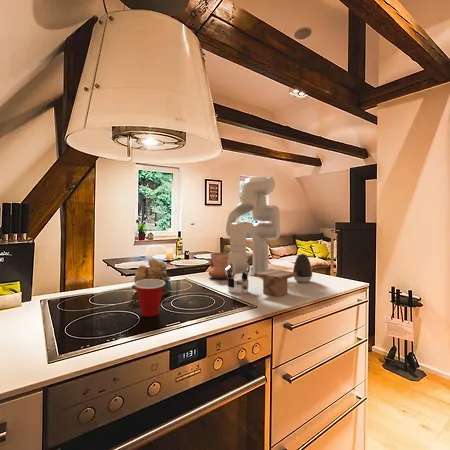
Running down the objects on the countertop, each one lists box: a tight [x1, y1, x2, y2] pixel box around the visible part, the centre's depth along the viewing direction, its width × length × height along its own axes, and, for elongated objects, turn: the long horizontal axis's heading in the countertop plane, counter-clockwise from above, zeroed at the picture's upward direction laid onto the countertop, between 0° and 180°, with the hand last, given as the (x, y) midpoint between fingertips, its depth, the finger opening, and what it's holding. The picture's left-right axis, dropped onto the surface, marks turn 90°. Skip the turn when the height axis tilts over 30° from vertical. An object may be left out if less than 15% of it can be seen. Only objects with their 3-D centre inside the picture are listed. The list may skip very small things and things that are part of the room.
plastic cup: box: [134, 279, 166, 318], centre depth 104 cm, size 11×11×12 cm
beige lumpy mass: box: [131, 258, 171, 301], centre depth 129 cm, size 18×12×17 cm, turn 130°
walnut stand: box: [253, 268, 297, 297], centre depth 132 cm, size 14×14×10 cm
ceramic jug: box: [208, 252, 232, 280], centre depth 167 cm, size 18×14×14 cm
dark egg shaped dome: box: [292, 253, 313, 284], centre depth 155 cm, size 10×10×15 cm
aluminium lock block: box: [228, 277, 249, 295], centre depth 134 cm, size 9×5×6 cm, turn 47°
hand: (238, 285), depth 133 cm, fingers open, 9 cm apart
